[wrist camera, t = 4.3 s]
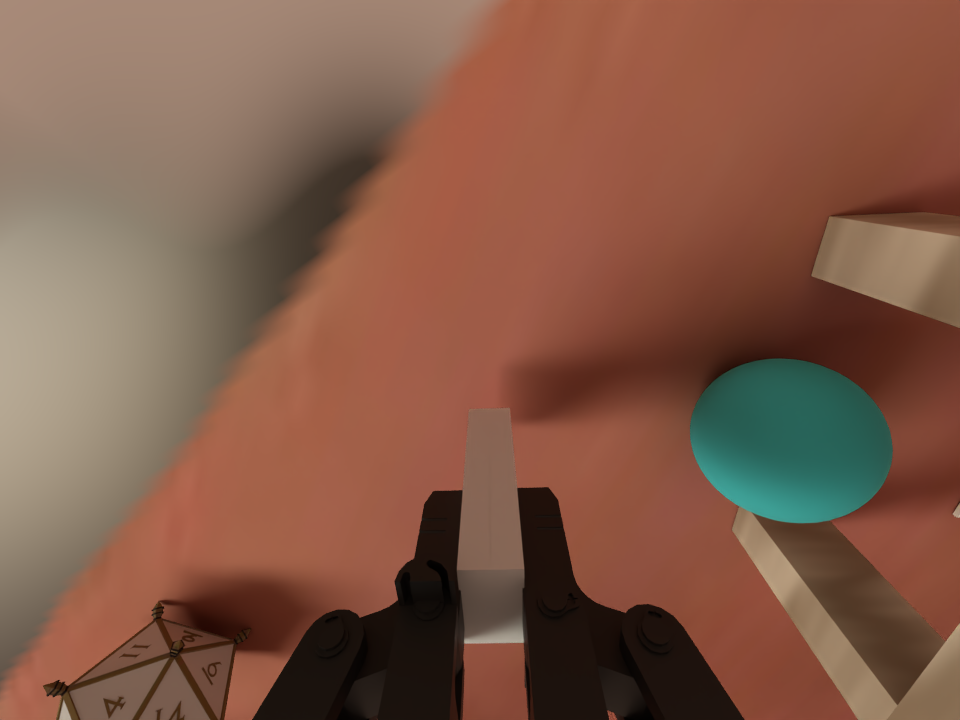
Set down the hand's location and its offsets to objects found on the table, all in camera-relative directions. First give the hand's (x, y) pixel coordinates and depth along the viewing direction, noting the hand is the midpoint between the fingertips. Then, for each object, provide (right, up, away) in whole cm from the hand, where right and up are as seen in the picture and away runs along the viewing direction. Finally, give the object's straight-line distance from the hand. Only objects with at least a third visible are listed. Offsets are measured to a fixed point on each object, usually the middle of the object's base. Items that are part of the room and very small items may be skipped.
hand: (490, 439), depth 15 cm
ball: (+10, 0, -1) cm, 10 cm away
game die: (-17, -13, +9) cm, 23 cm away
